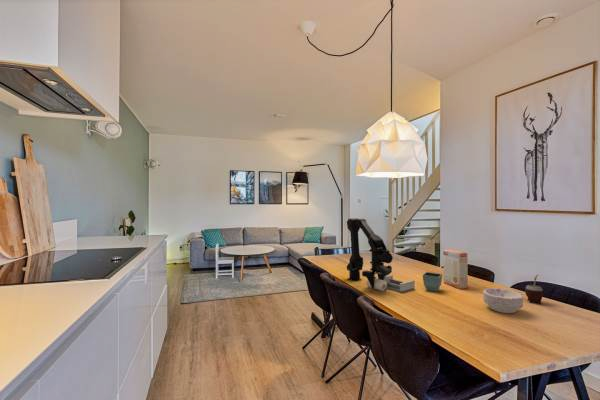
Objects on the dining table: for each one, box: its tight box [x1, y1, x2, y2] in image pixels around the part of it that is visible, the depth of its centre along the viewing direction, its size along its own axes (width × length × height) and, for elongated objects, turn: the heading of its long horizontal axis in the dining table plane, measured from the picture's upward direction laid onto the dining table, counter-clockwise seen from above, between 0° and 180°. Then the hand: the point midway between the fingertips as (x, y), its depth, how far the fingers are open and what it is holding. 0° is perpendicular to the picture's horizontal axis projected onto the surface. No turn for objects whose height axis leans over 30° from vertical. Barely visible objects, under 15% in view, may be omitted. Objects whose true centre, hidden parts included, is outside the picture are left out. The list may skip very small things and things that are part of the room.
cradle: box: [384, 274, 416, 294], centre depth 173 cm, size 16×12×5 cm
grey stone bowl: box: [482, 287, 524, 314], centre depth 137 cm, size 15×15×8 cm
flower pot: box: [422, 271, 443, 292], centre depth 168 cm, size 9×9×9 cm
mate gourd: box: [524, 274, 544, 305], centre depth 147 cm, size 8×8×15 cm
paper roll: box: [366, 277, 387, 292], centre depth 171 cm, size 10×6×6 cm, turn 35°
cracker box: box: [442, 248, 469, 290], centre depth 177 cm, size 14×6×21 cm, turn 10°
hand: (376, 287), depth 171 cm, fingers open, 6 cm apart
